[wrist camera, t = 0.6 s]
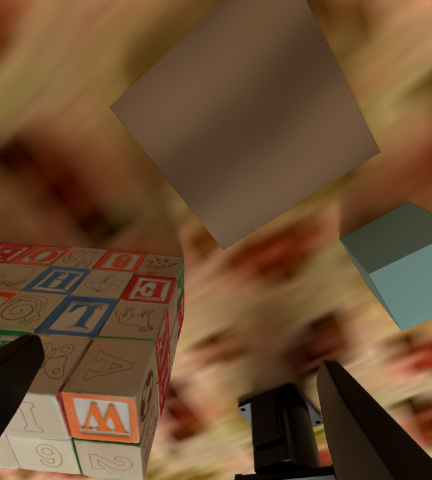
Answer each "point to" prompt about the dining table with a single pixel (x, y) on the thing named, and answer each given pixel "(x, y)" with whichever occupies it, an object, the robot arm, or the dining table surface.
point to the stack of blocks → (90, 355)
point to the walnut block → (247, 115)
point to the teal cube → (397, 262)
